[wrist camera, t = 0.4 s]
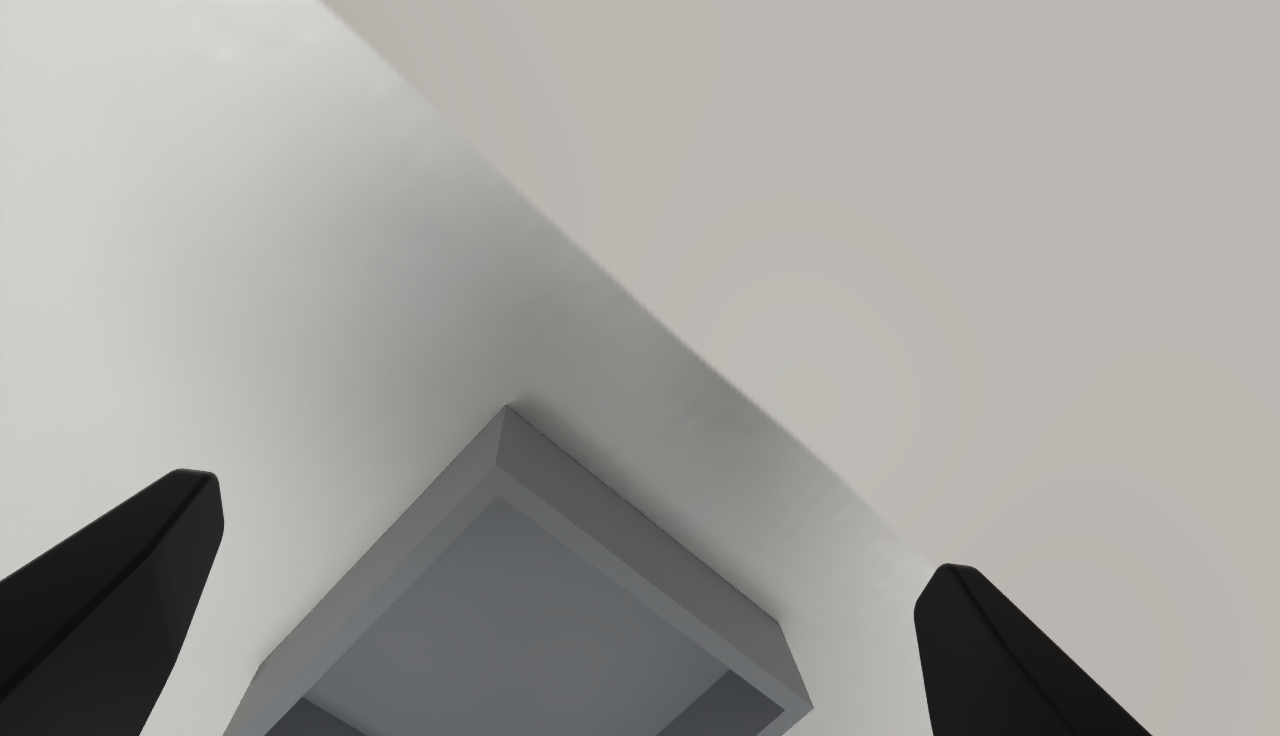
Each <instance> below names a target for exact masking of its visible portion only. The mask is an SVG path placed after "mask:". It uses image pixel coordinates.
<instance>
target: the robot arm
mask: <svg viewBox="0 0 1280 736" xmlns="http://www.w3.org/2000/svg"><path fill="white" fill-rule="evenodd" d="M223 531H224V516H223V508H222V501H221V494H220V487H219V481H218V478H217V476H216V475H215V474H214V473H211V472H207V471H199V470H191V469H176V470H174V471H171V472H169V473H168V474H166V475H165V476H163V477H162V478H160V479H158V480H157V481H155V482H154V483H152V484H151V485H149V486H148V487H146V488H144V489H143V490H141V491H140V492H138V493H137V494H135V495H134V496H132V497H130V498H129V499H127V500H126V501H124V502H123V503H121V504H120V505H118V506H116V507H115V508H113V509H112V510H110V511H109V512H107V513H106V514H104V515H102V516H101V517H99V518H98V519H96V520H95V521H93V522H92V523H90V524H88V525H87V526H85V527H84V528H82V529H81V530H79V531H78V532H76V533H74V534H73V535H71V536H70V537H68V538H67V539H65V540H64V541H62V542H60V543H59V544H57V545H56V546H54V547H53V548H51V549H50V550H48V551H46V552H45V553H43V554H42V555H40V556H39V557H37V558H36V559H34V560H32V561H31V562H29V563H28V564H26V565H25V566H23V567H21V568H20V569H18V570H17V571H15V572H14V573H12V574H11V575H9V576H7V577H6V578H4V579H3V580H1V581H0V736H139V735H140V733H141V731H142V729H143V727H144V725H145V723H146V721H147V719H148V717H149V715H150V713H151V711H152V709H153V707H154V705H155V703H156V701H157V700H158V698H159V696H160V694H161V692H162V690H163V688H164V686H165V684H166V682H167V680H168V677H169V675H170V673H171V671H172V669H173V667H174V665H175V663H176V660H177V658H178V655H179V653H180V650H181V648H182V645H183V642H184V640H185V637H186V634H187V632H188V629H189V626H190V624H191V621H192V618H193V616H194V613H195V610H196V608H197V605H198V602H199V600H200V597H201V594H202V591H203V589H204V586H205V583H206V581H207V578H208V575H209V573H210V570H211V567H212V565H213V562H214V559H215V557H216V554H217V551H218V548H219V546H220V543H221V540H222V536H223ZM914 622H915V629H916V635H917V641H918V647H919V654H920V660H921V666H922V672H923V679H924V685H925V691H926V697H927V703H928V710H929V715H930V721H931V726H932V731H933V735H934V736H1152V735H1151V734H1150V733H1149V732H1148V731H1147V730H1146V729H1145V728H1144V727H1143V726H1141V725H1140V724H1139V723H1138V722H1137V721H1136V720H1135V719H1134V718H1133V717H1132V716H1131V715H1130V714H1129V713H1128V712H1127V711H1126V710H1125V709H1123V707H1122V706H1120V705H1119V704H1118V703H1117V702H1116V701H1115V700H1114V699H1113V698H1112V697H1111V696H1110V695H1109V694H1108V693H1107V692H1106V691H1105V690H1104V689H1103V688H1101V687H1100V686H1099V685H1098V684H1097V683H1096V682H1095V681H1094V680H1093V679H1092V678H1091V677H1090V676H1089V675H1088V674H1087V673H1086V672H1085V671H1083V669H1082V668H1080V667H1079V666H1078V665H1077V664H1076V663H1075V662H1074V661H1073V660H1072V659H1071V658H1070V657H1069V656H1068V655H1067V654H1066V653H1064V651H1063V650H1062V649H1060V648H1059V647H1058V646H1057V645H1056V644H1055V643H1054V642H1053V641H1052V640H1051V639H1050V638H1049V637H1048V636H1047V635H1046V634H1045V633H1044V632H1043V631H1041V629H1039V628H1038V627H1037V626H1036V625H1035V624H1034V623H1033V622H1032V621H1031V620H1030V619H1029V618H1028V617H1027V616H1026V615H1025V614H1024V613H1022V612H1021V610H1019V609H1018V608H1017V607H1016V606H1015V605H1014V604H1013V603H1012V602H1011V601H1010V600H1009V599H1008V598H1007V597H1006V596H1005V595H1003V593H1002V592H1000V590H998V589H997V588H996V587H995V586H994V585H993V584H992V583H991V582H990V581H989V580H988V579H987V578H986V577H985V576H984V575H983V574H982V573H980V572H979V571H978V570H977V569H975V568H973V567H971V566H966V565H958V564H950V563H947V564H943V565H941V566H940V567H938V569H937V570H936V571H935V573H934V575H933V576H932V578H931V579H930V581H929V582H928V584H927V585H926V587H925V589H924V590H923V592H922V593H921V595H920V596H919V598H918V600H917V602H916V605H915V609H914Z"/></svg>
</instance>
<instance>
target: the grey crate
mask: <svg viewBox="0 0 1280 736" xmlns="http://www.w3.org/2000/svg"><path fill="white" fill-rule="evenodd" d="M813 708H814V707H813V705H812V702H811V700H810V697H809V695H808V692H807V690H806V688H805V685H804V683H803V680H802V678H801V676H800V673H799V671H798V668H797V666H796V663H795V661H794V659H793V656H792V654H791V651H790V649H789V647H788V644H787V642H786V639H785V637H784V634H783V632H782V630H781V627H780V625H779V623H778V622H777V621H775V620H774V619H773V618H772V617H770V616H769V615H768V614H767V613H765V612H764V611H763V610H762V609H760V608H759V607H758V606H757V605H755V604H754V603H753V602H752V601H750V600H749V599H748V598H747V597H745V596H744V595H743V594H742V593H740V592H739V591H738V590H737V589H735V588H734V587H733V586H732V585H730V584H729V583H728V582H727V581H725V580H724V579H723V578H721V577H720V576H719V575H718V574H716V573H715V572H714V571H713V570H711V569H710V568H709V567H708V566H706V565H705V564H704V563H703V562H701V561H700V560H699V559H698V558H696V557H695V556H694V555H693V554H691V553H690V552H689V551H688V550H686V549H685V548H684V547H683V546H681V545H680V544H679V543H678V542H676V541H675V540H674V539H673V538H671V537H670V536H669V535H668V534H666V533H665V532H664V531H663V530H661V529H660V528H659V527H658V526H656V525H655V524H654V523H653V522H651V521H650V520H649V519H648V518H646V517H645V516H644V515H643V514H641V513H640V512H639V511H638V510H636V509H635V508H634V507H633V506H631V505H630V504H629V503H628V502H626V501H625V500H624V499H623V498H621V497H620V496H619V495H618V494H616V493H615V492H614V491H613V490H611V489H610V488H609V487H608V486H606V485H605V484H604V483H603V482H601V481H600V480H599V479H598V478H596V477H595V476H594V475H593V474H591V473H590V472H589V471H588V470H586V469H585V468H584V467H583V466H581V465H580V464H579V463H577V462H576V461H575V460H574V459H572V458H571V457H570V456H569V455H567V454H566V453H565V452H564V451H562V450H561V449H560V448H559V447H557V446H556V445H555V444H554V443H552V442H551V441H550V440H549V439H547V438H546V437H545V436H544V435H542V434H541V433H540V432H539V431H537V430H536V429H535V428H534V427H532V426H531V425H530V424H529V423H527V422H526V421H525V420H524V419H522V418H521V417H520V416H519V415H517V414H516V413H515V412H514V411H512V410H511V409H510V408H509V407H507V406H505V407H504V408H503V409H502V410H501V411H500V412H499V413H498V414H497V415H496V416H495V417H494V418H493V419H492V420H491V422H490V423H489V424H488V425H487V426H486V427H485V428H484V429H483V430H482V431H481V432H480V433H479V434H478V435H477V436H476V437H475V438H474V440H473V441H472V442H471V443H470V444H469V445H468V446H467V447H466V448H465V449H464V450H463V451H462V452H461V453H460V454H459V455H458V456H457V458H456V459H455V460H454V461H453V462H452V463H451V464H450V465H449V466H448V467H447V468H446V469H445V470H444V471H443V472H442V473H441V474H440V476H439V477H438V478H437V479H436V480H435V481H434V482H433V483H432V484H431V485H430V486H429V487H428V488H427V489H426V490H425V491H424V492H423V493H422V495H421V496H420V497H419V498H418V499H417V500H416V501H415V502H414V503H413V504H412V505H411V506H410V507H409V508H408V509H407V510H406V511H405V513H404V514H403V515H402V516H401V517H400V518H399V519H398V520H397V521H396V522H395V523H394V524H393V525H392V526H391V527H390V528H389V529H388V531H387V532H386V533H385V534H384V535H383V536H382V537H381V538H380V539H379V540H378V541H377V542H376V543H375V544H374V545H373V546H372V547H371V549H370V550H369V551H368V552H367V553H366V554H365V555H364V556H363V557H362V558H361V559H360V560H359V561H358V562H357V563H356V564H355V565H354V566H353V568H352V569H351V570H350V571H349V572H348V573H347V574H346V575H345V576H344V577H343V578H342V579H341V580H340V581H339V582H338V583H337V584H336V586H335V587H334V588H333V589H332V590H331V591H330V592H329V593H328V594H327V595H326V596H325V597H324V598H323V599H322V600H321V601H320V602H319V604H318V605H317V606H316V607H315V608H314V609H313V610H312V611H311V612H310V613H309V614H308V615H307V616H306V617H305V618H304V619H303V620H302V622H301V623H300V624H299V625H298V626H297V627H296V628H295V629H294V630H293V631H292V632H291V633H290V634H289V635H288V636H287V637H286V638H285V639H284V641H283V642H282V643H281V644H280V645H279V646H278V647H277V648H276V649H275V650H274V651H273V652H272V653H271V654H270V655H269V656H268V657H267V659H266V660H265V661H264V662H263V663H262V664H261V665H260V666H259V668H258V670H257V672H256V674H255V676H254V677H253V679H252V681H251V683H250V685H249V687H248V689H247V691H246V693H245V694H244V696H243V698H242V700H241V702H240V704H239V706H238V708H237V710H236V711H235V713H234V715H233V717H232V719H231V721H230V723H229V725H228V727H227V728H226V730H225V732H224V734H223V736H782V735H783V734H784V733H785V732H786V731H787V730H789V729H790V728H791V727H792V726H793V725H794V724H796V723H797V722H798V721H799V720H800V719H801V718H802V717H804V716H805V715H806V714H807V713H808V712H809V711H811V710H812V709H813Z"/></svg>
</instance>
